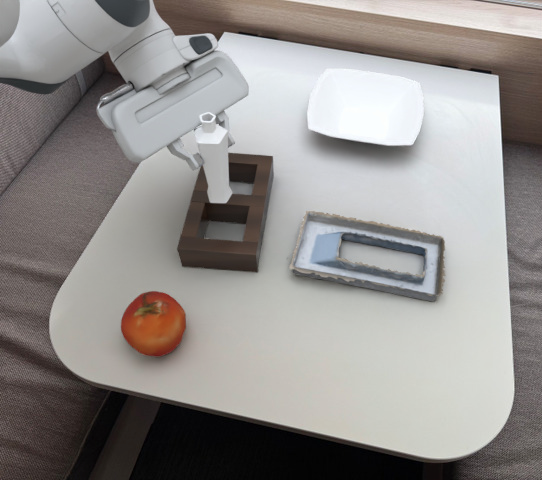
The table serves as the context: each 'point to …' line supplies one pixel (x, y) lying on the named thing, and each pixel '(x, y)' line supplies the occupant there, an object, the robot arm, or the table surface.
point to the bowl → (366, 107)
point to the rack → (229, 218)
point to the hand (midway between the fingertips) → (214, 156)
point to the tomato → (154, 323)
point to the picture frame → (328, 266)
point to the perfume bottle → (214, 157)
